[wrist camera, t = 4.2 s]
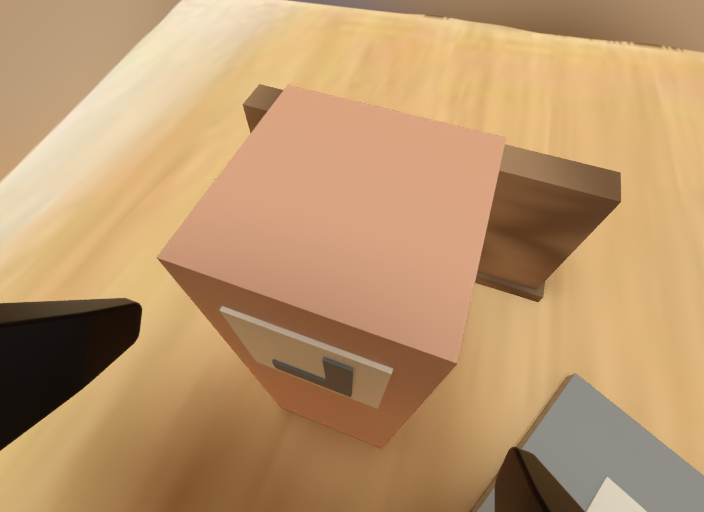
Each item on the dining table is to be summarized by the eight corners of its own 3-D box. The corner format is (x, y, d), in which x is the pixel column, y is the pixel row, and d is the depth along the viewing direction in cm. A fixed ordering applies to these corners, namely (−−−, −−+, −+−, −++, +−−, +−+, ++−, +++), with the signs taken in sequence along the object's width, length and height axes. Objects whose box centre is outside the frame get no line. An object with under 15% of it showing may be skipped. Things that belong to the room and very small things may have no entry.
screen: (541, 269, 22) (630, 170, 15) (538, 301, 21) (632, 210, 14) (280, 191, 25) (254, 78, 18) (264, 216, 23) (231, 106, 17)
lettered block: (380, 452, 17) (454, 375, 5) (278, 411, 18) (150, 265, 6) (410, 346, 19) (506, 137, 8) (321, 314, 20) (287, 84, 9)
